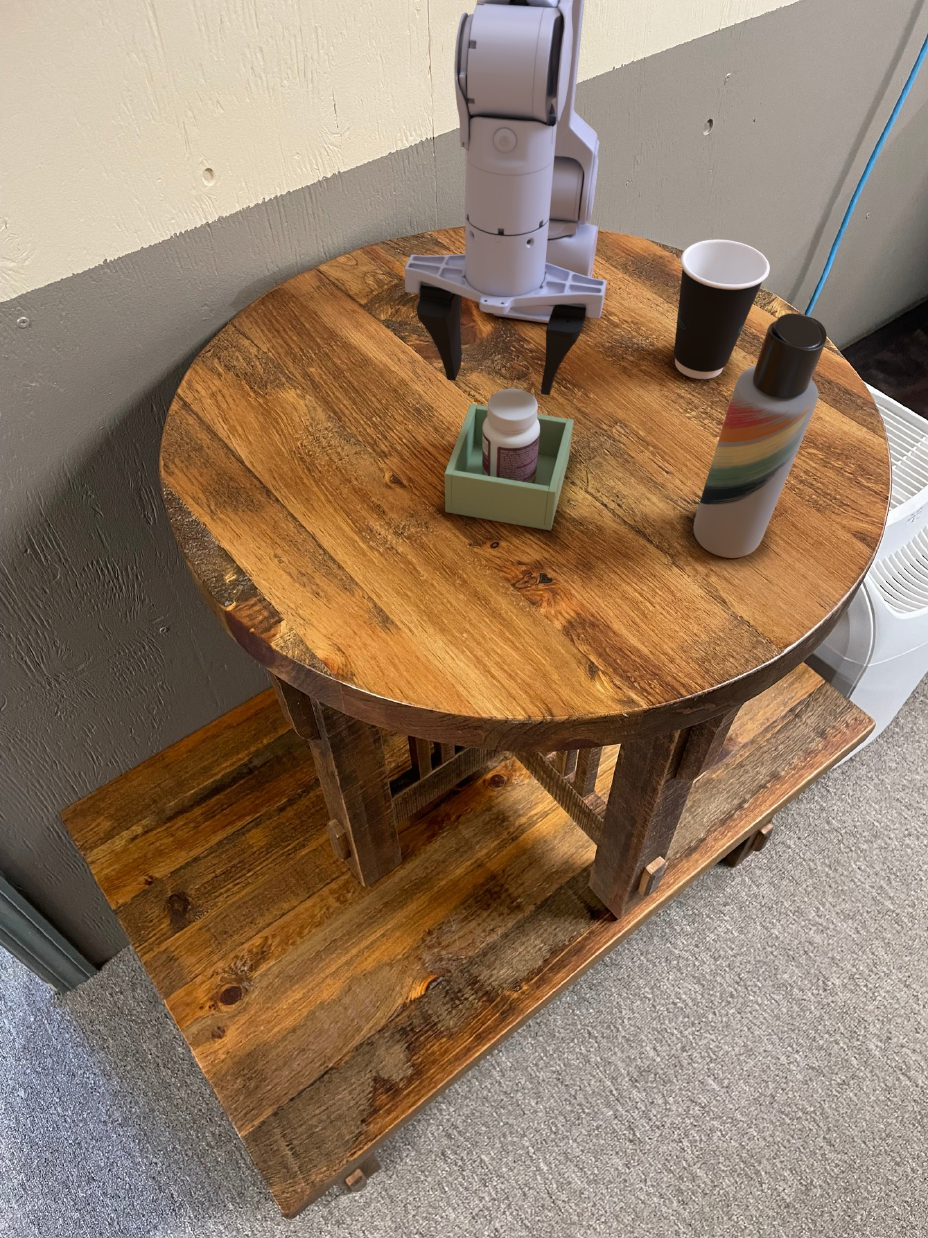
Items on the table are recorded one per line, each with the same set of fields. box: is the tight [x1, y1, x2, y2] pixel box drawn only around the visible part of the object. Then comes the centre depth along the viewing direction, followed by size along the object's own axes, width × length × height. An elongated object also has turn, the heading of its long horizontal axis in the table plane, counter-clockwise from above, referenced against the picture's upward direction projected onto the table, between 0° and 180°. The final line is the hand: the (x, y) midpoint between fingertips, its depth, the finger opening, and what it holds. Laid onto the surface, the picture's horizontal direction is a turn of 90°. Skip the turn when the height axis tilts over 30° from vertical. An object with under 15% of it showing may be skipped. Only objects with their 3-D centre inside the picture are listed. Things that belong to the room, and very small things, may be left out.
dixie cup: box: [673, 239, 771, 380], centre depth 82 cm, size 8×8×11 cm
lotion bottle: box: [693, 312, 828, 559], centre depth 65 cm, size 6×6×20 cm
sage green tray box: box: [444, 403, 575, 531], centre depth 74 cm, size 9×9×4 cm
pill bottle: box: [482, 388, 540, 484], centre depth 72 cm, size 5×5×8 cm
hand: (500, 380), depth 69 cm, fingers open, 7 cm apart
